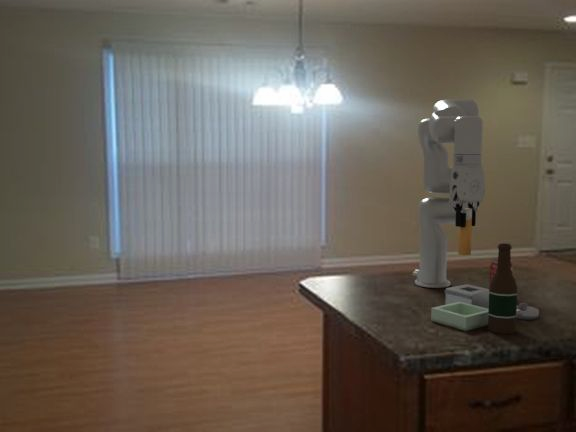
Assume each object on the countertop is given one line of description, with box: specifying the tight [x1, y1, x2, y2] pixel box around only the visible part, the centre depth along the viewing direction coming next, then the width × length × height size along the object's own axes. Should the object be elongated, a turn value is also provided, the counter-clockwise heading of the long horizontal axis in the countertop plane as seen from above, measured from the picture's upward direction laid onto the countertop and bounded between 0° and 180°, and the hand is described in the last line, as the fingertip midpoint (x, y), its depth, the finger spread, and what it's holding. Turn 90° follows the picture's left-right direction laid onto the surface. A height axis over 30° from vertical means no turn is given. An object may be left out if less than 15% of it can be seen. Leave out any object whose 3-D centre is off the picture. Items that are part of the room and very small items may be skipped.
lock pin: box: [457, 208, 473, 256], centre depth 182 cm, size 3×3×13 cm
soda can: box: [489, 259, 514, 283], centre depth 209 cm, size 7×7×13 cm
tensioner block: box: [444, 283, 489, 309], centre depth 200 cm, size 10×11×6 cm
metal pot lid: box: [516, 302, 540, 321], centre depth 192 cm, size 9×9×4 cm
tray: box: [430, 302, 489, 332], centre depth 185 cm, size 12×12×4 cm
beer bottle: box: [487, 243, 518, 335], centre depth 175 cm, size 8×8×24 cm
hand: (465, 225), depth 182 cm, fingers closed on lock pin, 3 cm apart
